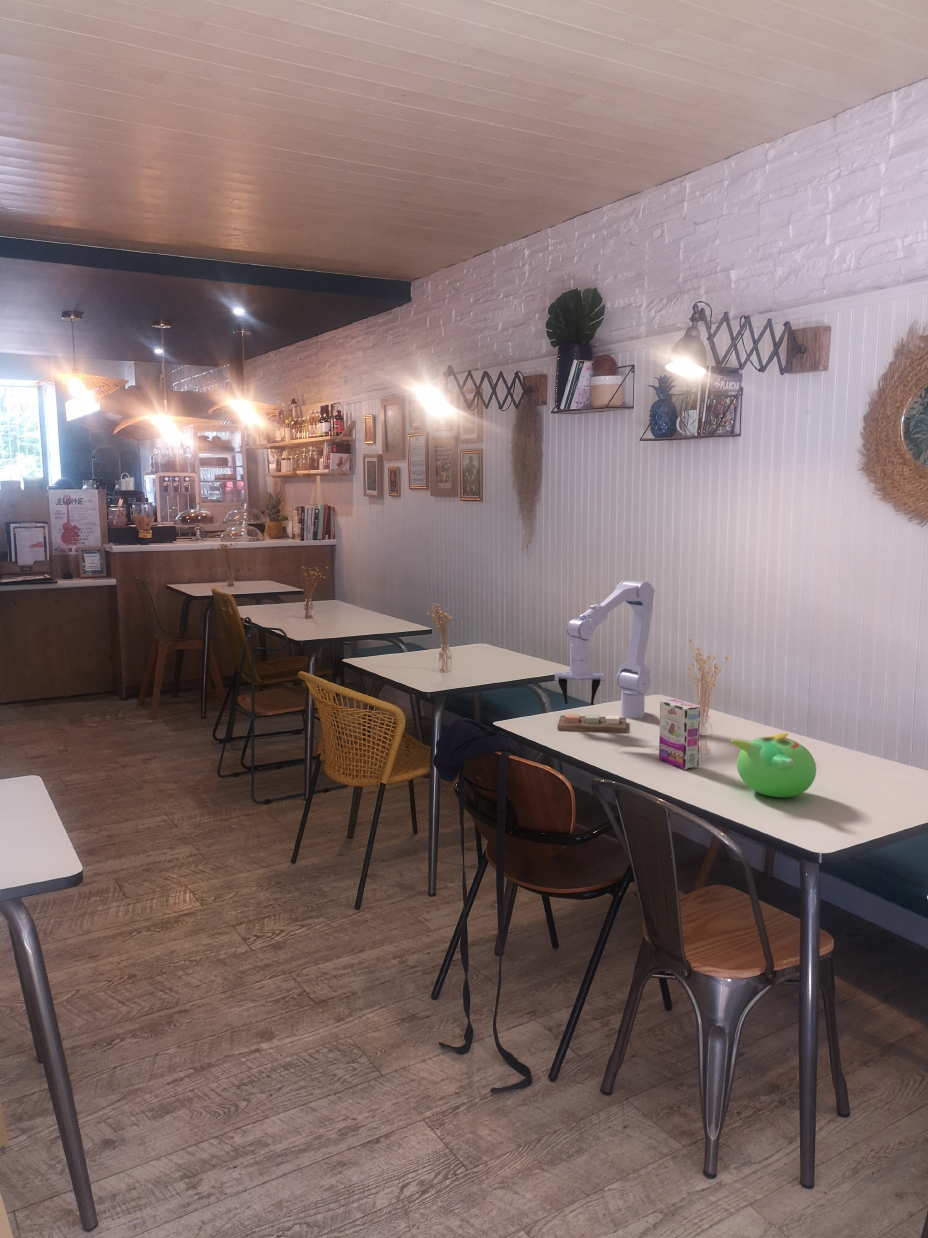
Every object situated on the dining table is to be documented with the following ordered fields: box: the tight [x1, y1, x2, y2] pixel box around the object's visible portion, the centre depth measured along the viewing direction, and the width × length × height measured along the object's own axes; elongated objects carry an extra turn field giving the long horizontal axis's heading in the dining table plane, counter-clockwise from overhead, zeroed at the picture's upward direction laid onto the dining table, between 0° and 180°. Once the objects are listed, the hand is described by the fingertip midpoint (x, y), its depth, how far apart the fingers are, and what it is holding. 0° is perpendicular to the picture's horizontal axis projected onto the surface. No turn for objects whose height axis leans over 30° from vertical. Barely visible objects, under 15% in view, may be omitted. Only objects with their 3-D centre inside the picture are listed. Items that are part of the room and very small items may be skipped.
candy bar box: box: [658, 699, 701, 771], centre depth 241 cm, size 11×5×16 cm, turn 25°
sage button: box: [585, 714, 600, 723], centre depth 275 cm, size 4×4×3 cm
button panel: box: [557, 714, 627, 734], centre depth 275 cm, size 12×20×3 cm, turn 80°
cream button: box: [605, 714, 620, 724], centre depth 274 cm, size 4×4×3 cm
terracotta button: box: [565, 713, 580, 723], centre depth 276 cm, size 4×4×3 cm
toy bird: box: [730, 732, 817, 798], centre depth 216 cm, size 18×17×15 cm
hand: (579, 703), depth 273 cm, fingers open, 7 cm apart
